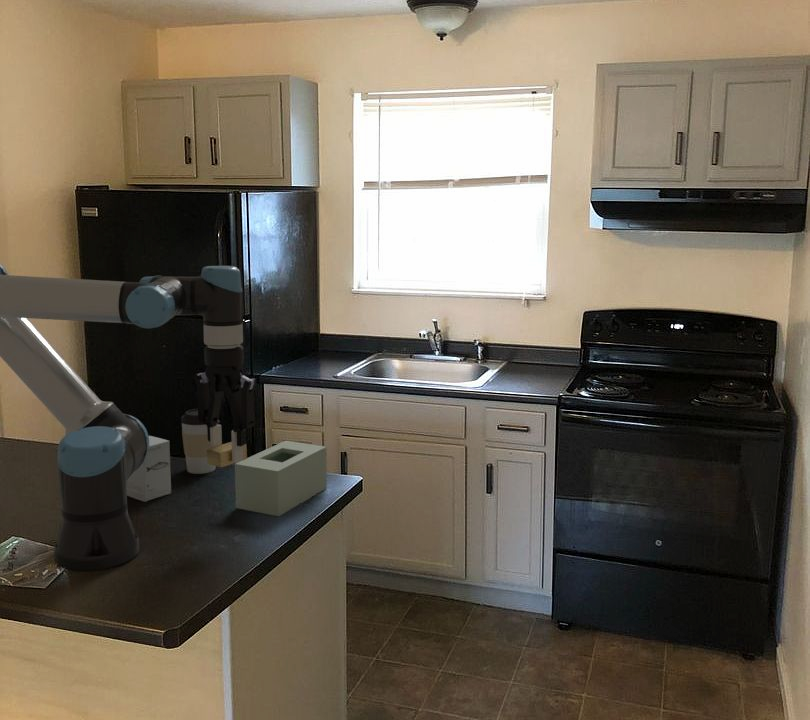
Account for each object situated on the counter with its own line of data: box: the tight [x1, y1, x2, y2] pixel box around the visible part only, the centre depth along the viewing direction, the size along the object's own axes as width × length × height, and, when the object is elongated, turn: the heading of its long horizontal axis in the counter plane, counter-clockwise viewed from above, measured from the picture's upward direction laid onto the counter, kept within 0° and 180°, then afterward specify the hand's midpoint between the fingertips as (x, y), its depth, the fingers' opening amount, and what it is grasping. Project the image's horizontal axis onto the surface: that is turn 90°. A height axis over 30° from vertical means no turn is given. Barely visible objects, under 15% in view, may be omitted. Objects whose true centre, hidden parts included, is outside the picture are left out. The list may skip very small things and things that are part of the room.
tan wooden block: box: [207, 441, 248, 468], centre depth 178 cm, size 7×4×3 cm, turn 144°
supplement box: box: [126, 435, 172, 503], centre depth 198 cm, size 7×7×13 cm
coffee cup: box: [180, 408, 220, 475], centre depth 216 cm, size 9×9×15 cm
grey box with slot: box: [234, 440, 328, 517], centre depth 197 cm, size 20×11×10 cm, turn 155°
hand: (227, 458), depth 178 cm, fingers closed on tan wooden block, 4 cm apart
